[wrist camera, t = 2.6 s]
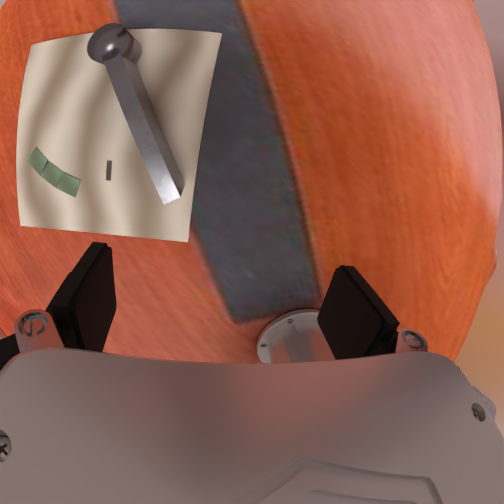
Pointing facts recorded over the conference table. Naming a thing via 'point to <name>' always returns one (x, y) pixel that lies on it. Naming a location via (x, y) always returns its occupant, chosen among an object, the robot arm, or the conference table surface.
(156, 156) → the pointer lever
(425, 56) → the conference table surface
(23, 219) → the dial plate
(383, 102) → the conference table surface
